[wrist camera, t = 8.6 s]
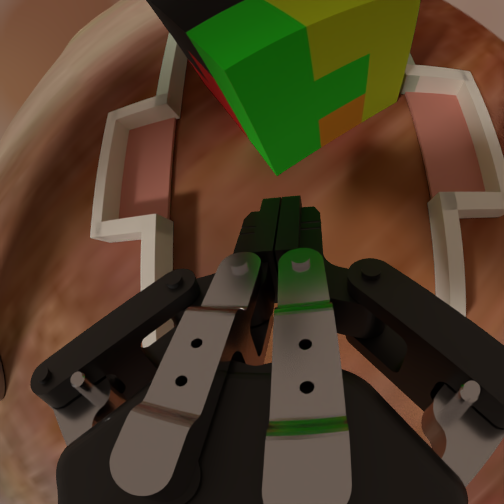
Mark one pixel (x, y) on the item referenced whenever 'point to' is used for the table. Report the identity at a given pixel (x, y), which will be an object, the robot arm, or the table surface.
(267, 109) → the puzzle toy
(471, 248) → the table surface
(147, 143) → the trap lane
